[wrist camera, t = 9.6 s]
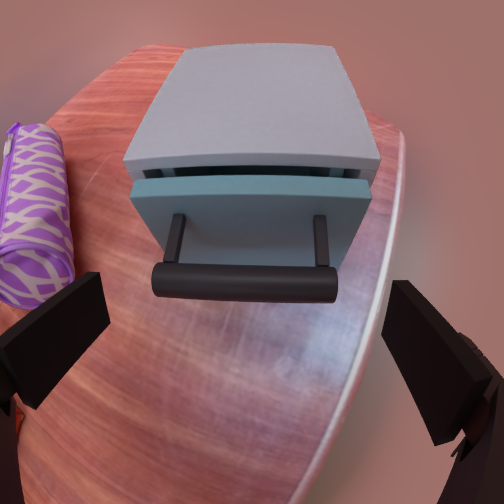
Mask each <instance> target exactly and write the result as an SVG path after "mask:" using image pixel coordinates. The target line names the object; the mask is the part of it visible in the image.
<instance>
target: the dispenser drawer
mask: <svg viewBox="0 0 504 504" xmlns="http://www.w3.org/2000/svg"><path fill="white" fill-rule="evenodd" d="M344 169H345V168H329V167H310V166H277V165H231V166H198V167H179V168H163V169H161V171H162V173H163V175H164V178H151V179H137V180H135V182H134V185H133V187H132V190H131V193H130V196H129V198H130V200H131V201H132V203H133V205H134V206H135V208H136V209H137V211H138V213H139V214H140V216H141V217H142V219H143V220H144V222H145V224H146V225H147V227H148V228H149V230H150V231H151V233H152V234H153V236H154V237H155V239H156V240H157V242H158V243H159V245H160V246H161V248H162V249H163V251H164V252H165V254H164V259H163V262H159V263H157V264H156V265H155V266H154V268H153V272H152V279H151V283H152V290H153V292H154V294H155V295H156V296H157V297H168V298H182V299H199V300H217V301H239V302H269V303H334V302H335V300H336V298H337V292H338V275H337V271H338V269H339V267H340V265H341V263H342V261H343V259H344V257H345V255H346V253H347V251H348V249H349V247H350V245H351V243H352V241H353V239H354V237H355V235H356V233H357V230H358V228H359V226H360V224H361V222H362V220H363V217H364V215H365V213H366V211H367V209H368V206H369V204H370V202H371V200H372V197H371V192H370V188H369V184H368V180H364V179H350V178H342V177H343V173H344Z"/></svg>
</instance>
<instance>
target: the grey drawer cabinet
mask: <svg viewBox="0 0 504 504" xmlns="http://www.w3.org/2000/svg"><path fill="white" fill-rule="evenodd" d="M380 162H381V157H380V154H379V151H378V148H377V145H376V142H375V140H374V137H373V134H372V131H371V129H370V126H369V124H368V121H367V118H366V116H365V113H364V111H363V109H362V106H361V104H360V101H359V99H358V97H357V95H356V92H355V90H354V88H353V86H352V84H351V81H350V79H349V77H348V75H347V73H346V71H345V69H344V67H343V65H342V63H341V61H340V59H339V57H338V55H337V53H336V51H335V49H334V47H332V46H322V45H309V44H290V43H250V44H230V45H218V46H208V47H199V48H191V49H186V50H185V51H184V52H183V54H182V55H181V57H180V58H179V60H178V61H177V63H176V64H175V66H174V67H173V69H172V70H171V72H170V74H169V75H168V77H167V78H166V80H165V82H164V83H163V85H162V86H161V88H160V90H159V91H158V93H157V95H156V97H155V98H154V100H153V102H152V104H151V105H150V107H149V109H148V111H147V113H146V114H145V116H144V118H143V120H142V122H141V124H140V126H139V128H138V129H137V131H136V133H135V135H134V137H133V139H132V141H131V143H130V145H129V148H128V150H127V152H126V154H125V156H124V158H123V163H124V165H125V167H126V168H127V170H128V171H129V172H128V173H129V175H130V176H131V178H132V180H133V182H135V180H137V179H151V178H164V175H163V173H162V171H161V169H163V168H179V167H198V166H231V165H277V166H310V167H329V168H345V169H344V173H343V177H342V178H350V179H364V180H368V184H369V188H371V185H372V183H373V180H374V178H375V175H376V173H377V170H378V167H379V164H380Z"/></svg>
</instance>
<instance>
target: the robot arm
mask: <svg viewBox="0 0 504 504" xmlns="http://www.w3.org/2000/svg"><path fill="white" fill-rule="evenodd" d="M110 323H111V322H110V318H109V314H108V310H107V306H106V301H105V297H104V292H103V287H102V282H101V277H100V272H89V271H87V272H86V273H84V274H83V275H81V276H80V277H79V278H77V279H76V280H74V281H73V282H71V283H70V284H68V285H67V286H66V287H64V288H63V289H61V290H60V291H58V292H57V293H56V294H54V295H53V296H52V297H50V298H49V299H47V300H46V301H45V302H43V303H42V304H41V305H39V306H38V307H37V308H35V309H34V310H33V311H31V312H30V313H29V314H27V315H26V316H25V317H23V318H22V319H21V320H19V321H18V322H17V323H16V324H14V325H13V326H12V327H10V328H9V329H8V330H7V331H5V332H4V333H3V334H2V335H1V336H0V504H25V502H24V497H23V492H22V486H21V479H20V471H19V463H18V452H17V435H16V401H15V399H14V397H13V395H14V394H15V393H16V392H17V394H18V395H19V397H20V399H21V400H22V402H23V404H25V405H27V406H29V407H31V408H33V409H35V410H36V409H37V408H38V407H39V405H40V404H41V403H42V402H43V401H44V399H45V398H46V397H47V396H48V394H49V393H50V392H51V391H52V390H53V388H54V387H55V386H56V385H57V383H58V382H59V381H60V380H61V379H62V378H63V376H64V375H65V374H66V373H67V372H68V370H69V369H70V368H71V367H72V366H73V365H74V364H75V362H76V361H77V360H78V359H79V358H80V357H81V355H82V354H83V353H84V352H85V351H86V350H87V349H88V348H89V346H90V345H91V344H92V343H93V342H94V341H95V340H96V339H97V337H98V336H99V335H100V334H101V333H102V332H103V331H104V330H105V329H106V328H107V326H108V325H109V324H110ZM381 335H382V337H383V339H384V341H385V343H386V345H387V347H388V349H389V351H390V352H391V354H392V356H393V358H394V360H395V362H396V364H397V366H398V368H399V370H400V372H401V374H402V376H403V378H404V380H405V382H406V384H407V386H408V388H409V390H410V392H411V394H412V396H413V398H414V401H415V403H416V405H417V407H418V409H419V411H420V414H421V416H422V418H423V420H424V423H425V424H426V427H427V429H428V432H429V434H430V436H431V439H432V441H433V443H434V446H438V445H441V444H444V443H447V442H450V441H453V440H454V439H455V438H456V436H457V435H458V433H459V432H460V430H461V429H463V431H464V433H465V435H466V436H465V437H464V439H463V440H462V441H461V443H460V444H459V445H458V446H457V448H456V449H455V450H454V451H453V453H452V455H451V457H453V456H454V455H455V454H456V453H457V452H458V454H457V456H456V459H455V462H454V465H453V468H452V470H451V473H450V475H449V478H448V480H447V482H446V485H445V487H444V489H443V492H442V494H441V496H440V498H439V500H438V502H437V504H504V379H503V378H502V376H501V375H500V374H499V372H498V371H497V370H496V369H495V367H494V366H493V365H492V364H491V363H490V361H489V360H488V359H487V358H486V357H485V356H483V353H482V352H481V351H480V350H479V349H478V347H477V346H476V345H475V344H474V343H473V342H472V340H471V339H469V338H468V337H466V336H465V335H463V334H462V333H457V332H456V331H455V329H454V328H453V327H452V326H451V325H450V324H449V323H448V322H447V321H446V319H445V318H444V317H443V316H442V315H441V314H440V313H439V312H438V311H437V310H436V309H435V308H434V307H433V305H432V304H431V303H430V302H429V301H428V300H427V299H426V298H425V297H424V296H423V295H422V294H421V293H420V292H419V291H418V290H417V289H416V288H415V287H414V286H413V285H412V284H411V283H410V282H409V281H408V280H393V282H392V287H391V293H390V298H389V302H388V307H387V312H386V316H385V321H384V325H383V329H382V333H381Z"/></svg>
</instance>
